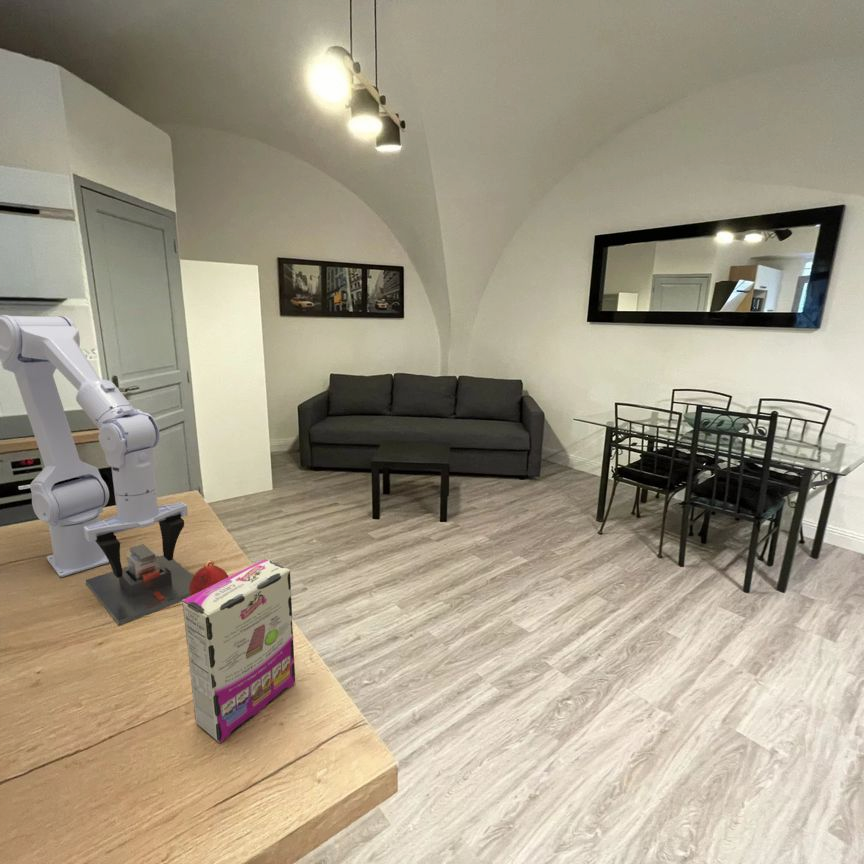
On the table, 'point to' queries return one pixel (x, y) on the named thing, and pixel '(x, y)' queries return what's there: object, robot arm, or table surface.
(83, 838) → the table surface
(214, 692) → the candy bar box
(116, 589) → the stand
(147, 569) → the grey block
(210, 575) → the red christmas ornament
